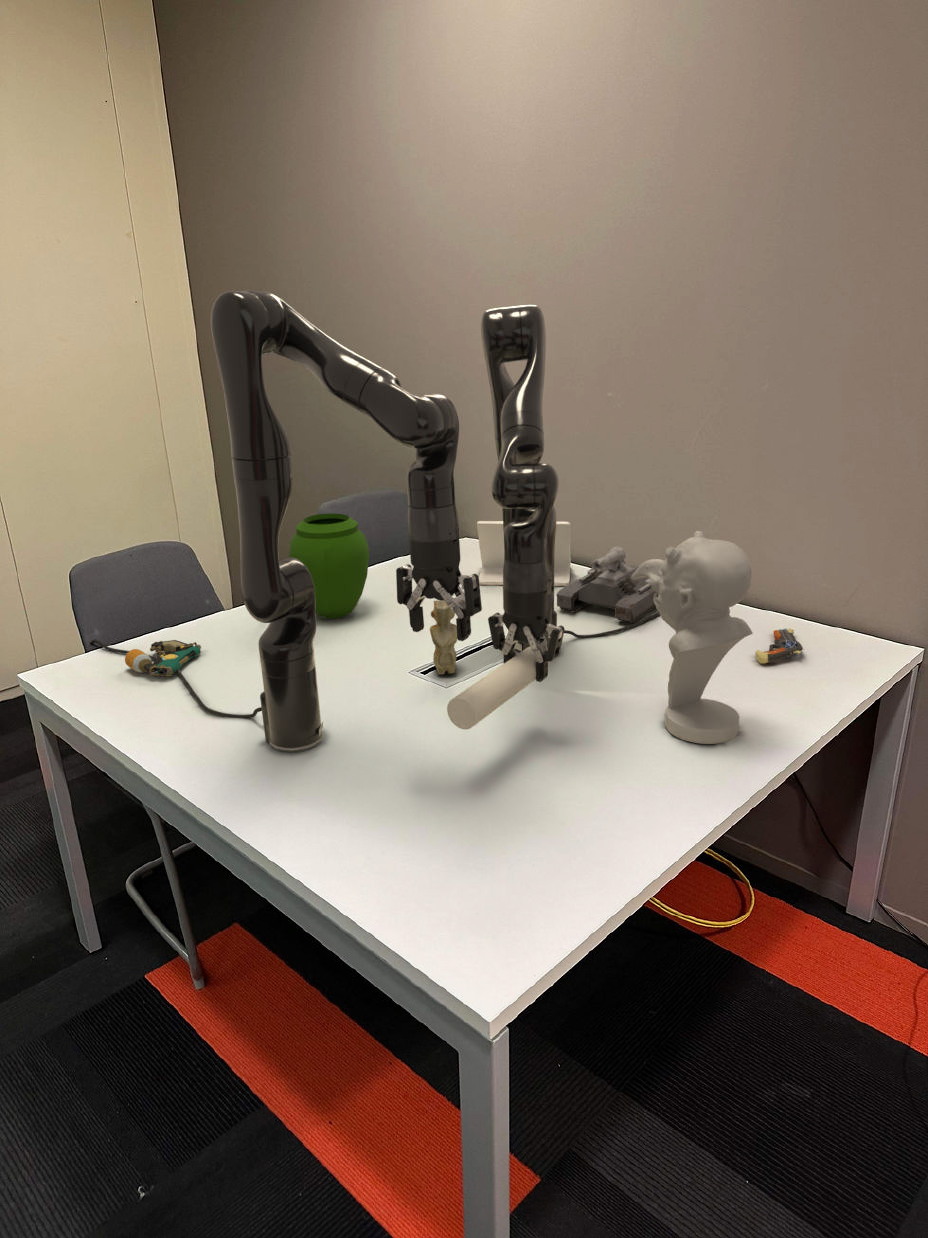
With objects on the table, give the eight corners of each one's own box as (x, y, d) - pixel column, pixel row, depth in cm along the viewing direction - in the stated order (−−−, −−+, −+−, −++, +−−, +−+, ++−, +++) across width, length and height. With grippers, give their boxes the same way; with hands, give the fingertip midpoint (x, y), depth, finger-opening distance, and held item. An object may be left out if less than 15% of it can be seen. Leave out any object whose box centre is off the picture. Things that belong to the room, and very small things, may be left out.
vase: (389, 608, 216) (383, 514, 208) (339, 633, 201) (330, 533, 192) (330, 596, 226) (322, 506, 218) (278, 619, 211) (267, 523, 202)
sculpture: (458, 662, 183) (456, 596, 178) (460, 676, 176) (457, 608, 171) (431, 663, 183) (428, 597, 177) (431, 677, 176) (428, 609, 171)
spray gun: (168, 648, 197) (219, 659, 191) (111, 671, 183) (165, 685, 177) (166, 630, 196) (218, 641, 190) (109, 653, 181) (164, 665, 176)
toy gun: (758, 654, 176) (809, 651, 174) (746, 627, 194) (792, 624, 192) (758, 667, 177) (809, 664, 175) (747, 638, 195) (793, 635, 193)
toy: (603, 584, 229) (605, 530, 224) (673, 597, 218) (677, 540, 213) (555, 612, 210) (556, 553, 205) (630, 627, 199) (633, 566, 194)
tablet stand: (569, 585, 229) (570, 524, 223) (476, 584, 232) (475, 523, 226) (570, 566, 246) (571, 508, 240) (484, 564, 249) (483, 507, 243)
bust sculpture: (671, 682, 170) (682, 511, 158) (763, 732, 151) (784, 540, 138) (606, 701, 164) (613, 523, 151) (694, 755, 144) (709, 555, 131)
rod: (522, 671, 152) (522, 643, 150) (548, 677, 150) (548, 649, 148) (447, 725, 134) (446, 694, 132) (476, 733, 131) (475, 702, 129)
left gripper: (380, 534, 128) (389, 635, 133) (459, 544, 120) (465, 650, 126) (410, 523, 134) (418, 620, 139) (487, 531, 126) (492, 634, 132)
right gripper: (476, 583, 143) (479, 675, 149) (553, 597, 135) (552, 694, 141) (500, 571, 148) (501, 660, 155) (574, 584, 141) (572, 677, 147)
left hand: (440, 634), depth 132 cm, fingers open, 8 cm apart
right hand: (525, 676), depth 148 cm, fingers closed on rod, 5 cm apart
